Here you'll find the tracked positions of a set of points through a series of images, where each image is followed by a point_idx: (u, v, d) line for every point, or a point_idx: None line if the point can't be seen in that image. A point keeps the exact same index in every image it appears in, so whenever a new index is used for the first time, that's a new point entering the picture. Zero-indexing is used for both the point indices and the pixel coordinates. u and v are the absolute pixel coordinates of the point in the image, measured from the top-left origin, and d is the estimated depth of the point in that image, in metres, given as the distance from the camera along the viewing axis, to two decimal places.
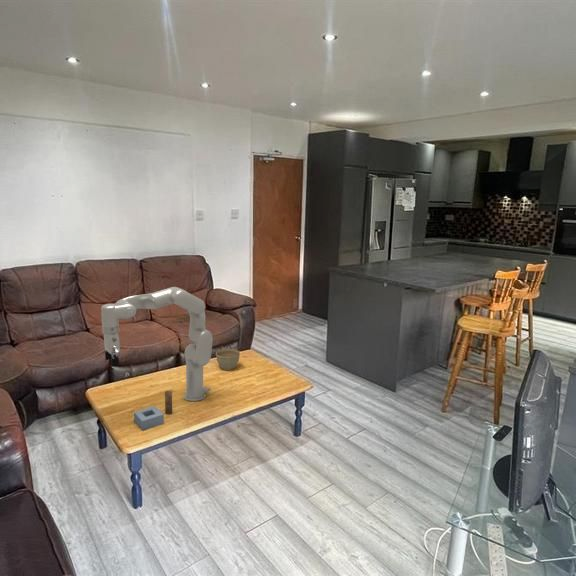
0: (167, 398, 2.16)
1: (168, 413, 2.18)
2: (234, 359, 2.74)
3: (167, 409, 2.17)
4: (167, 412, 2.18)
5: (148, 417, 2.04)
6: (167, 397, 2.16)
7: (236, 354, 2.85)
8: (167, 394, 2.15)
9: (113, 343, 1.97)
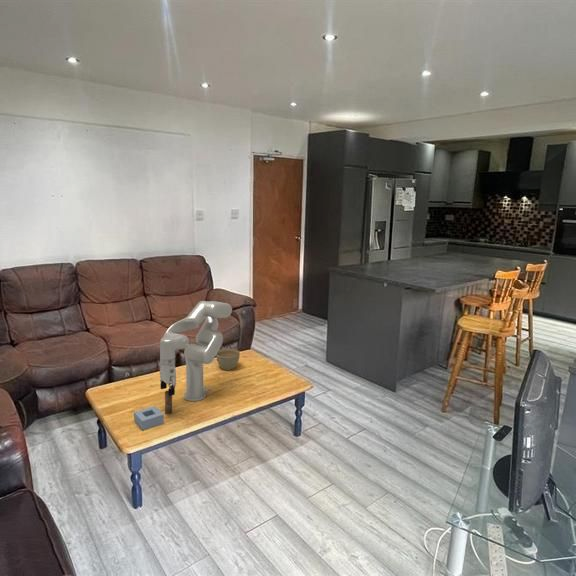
0: (167, 398, 2.16)
1: (168, 413, 2.18)
2: (234, 359, 2.74)
3: (167, 409, 2.17)
4: (167, 412, 2.18)
5: (148, 417, 2.04)
6: (167, 397, 2.16)
7: (236, 354, 2.85)
8: (167, 394, 2.15)
9: (170, 374, 2.10)
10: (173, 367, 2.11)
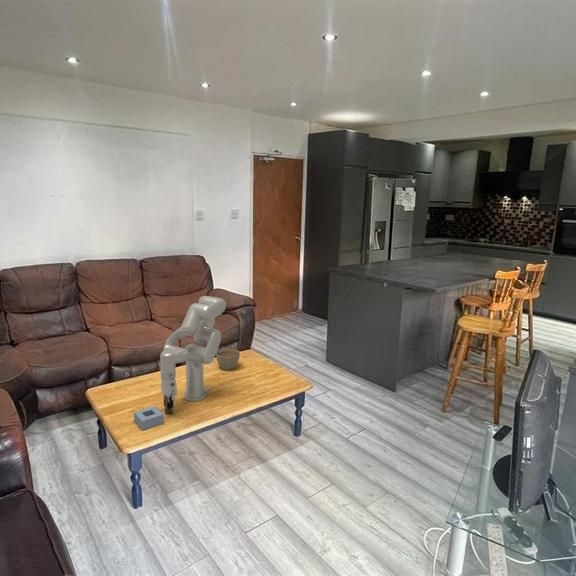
0: (167, 398, 2.16)
1: (168, 413, 2.18)
2: (234, 359, 2.74)
3: (167, 409, 2.17)
4: (167, 412, 2.18)
5: (148, 417, 2.04)
6: (167, 397, 2.16)
7: (236, 354, 2.85)
8: None
9: (171, 388, 2.12)
10: (174, 381, 2.13)
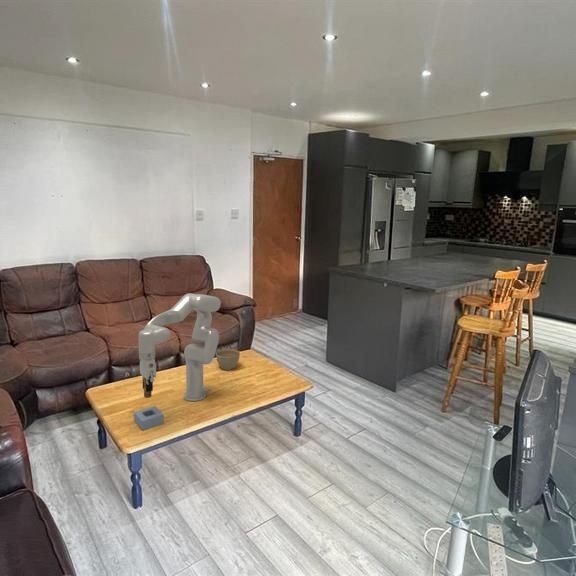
0: None
1: (147, 396, 2.05)
2: (234, 359, 2.74)
3: (146, 392, 2.04)
4: (146, 395, 2.04)
5: (148, 417, 2.04)
6: None
7: (236, 354, 2.85)
8: None
9: (150, 369, 1.99)
10: (153, 361, 2.00)
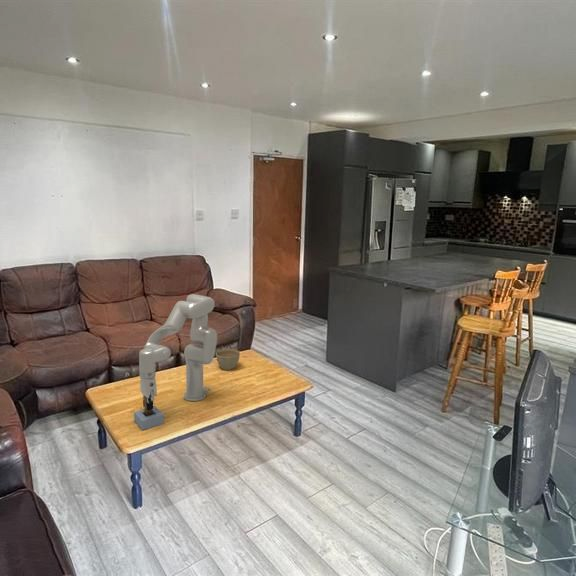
0: (146, 399, 2.05)
1: (147, 414, 2.07)
2: (234, 359, 2.74)
3: (146, 410, 2.06)
4: (146, 413, 2.06)
5: (148, 417, 2.04)
6: (146, 398, 2.05)
7: (236, 354, 2.85)
8: None
9: (150, 388, 2.01)
10: (153, 380, 2.02)
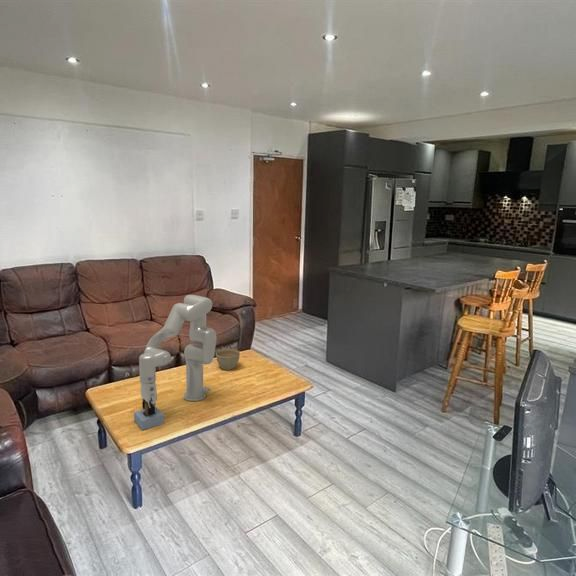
0: (147, 407, 2.06)
1: None
2: (234, 359, 2.74)
3: None
4: None
5: (148, 417, 2.04)
6: (147, 406, 2.06)
7: (236, 354, 2.85)
8: (147, 402, 2.06)
9: (151, 392, 2.02)
10: (153, 385, 2.02)
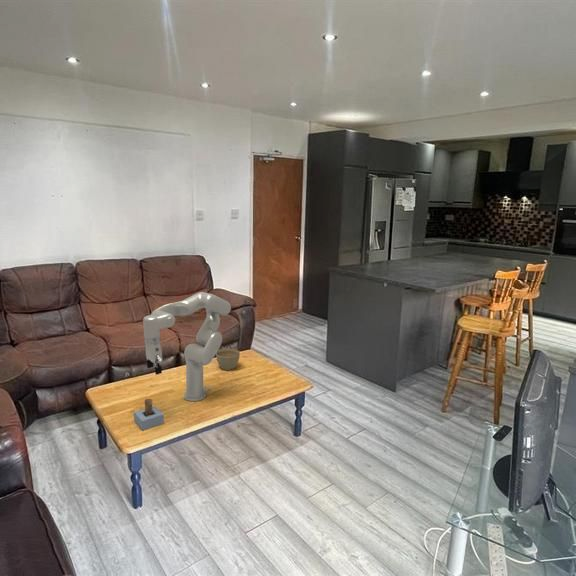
0: (147, 407, 2.06)
1: None
2: (234, 359, 2.74)
3: None
4: None
5: (148, 417, 2.04)
6: (147, 406, 2.06)
7: (236, 354, 2.85)
8: (147, 403, 2.06)
9: (156, 353, 2.07)
10: (158, 345, 2.07)
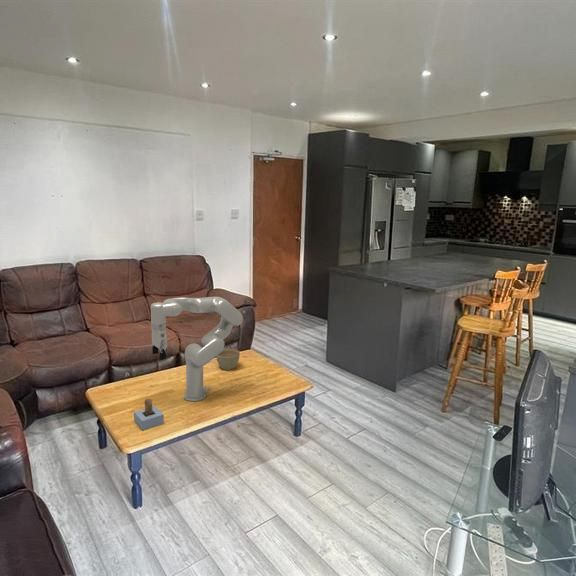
0: (147, 407, 2.06)
1: None
2: (234, 359, 2.74)
3: None
4: None
5: (148, 417, 2.04)
6: (147, 406, 2.06)
7: (236, 354, 2.85)
8: (147, 403, 2.06)
9: (161, 338, 2.16)
10: (164, 331, 2.16)
